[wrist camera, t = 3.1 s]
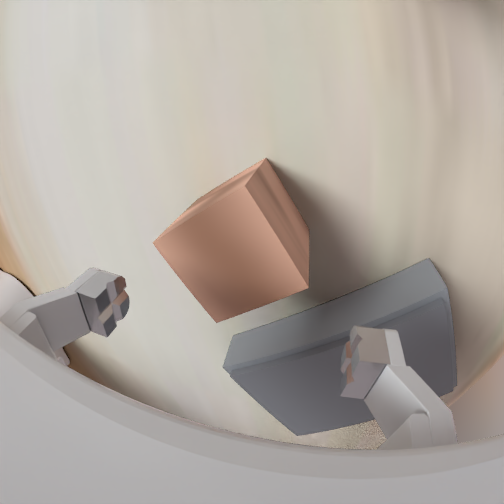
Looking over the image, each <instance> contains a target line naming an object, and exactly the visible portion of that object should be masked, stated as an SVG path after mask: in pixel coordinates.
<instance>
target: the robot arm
mask: <svg viewBox="0 0 504 504" xmlns="http://www.w3.org/2000/svg"><path fill="white" fill-rule="evenodd" d="M125 288H126V282H125V278H123V277H122V276H120V275H116V274H113V273H110V272H107V271H103V270H100V269H96V268H89V269H88V270H87V271H85V272H84V273H83V274H82V275H81V276H79V277H78V278H77V279H76V280H75V281H74V282H72V283H71V284H70V285H69V286H68V287H67V288H64V287H63V288H60V289H57V290H53V291H50V292H47V293H44V294H41V295H38V296H35V297H34V296H33V295H32V294H31V293H30V292H29V291H28V290H27V289H26V288H25V287H24V285H22V284H21V283H20V282H19V281H18V280H17V279H16V278H14V277H13V276H11V275H10V274H7V273H5V272H3V271H1V270H0V504H504V434H501V435H498V436H493V437H489V438H485V439H480V440H475V441H470V442H464V443H458V440H457V435H456V430H455V424H454V420H453V415H452V411H451V410H450V409H449V408H448V407H447V406H446V405H445V403H444V402H443V401H442V400H441V399H440V398H439V397H438V396H437V395H436V394H435V393H434V391H433V390H432V389H431V388H430V387H429V386H428V385H427V384H426V383H425V382H424V381H423V380H422V379H421V377H420V376H419V375H418V374H417V373H416V372H415V371H414V370H413V369H412V368H411V367H410V366H406V363H405V358H404V354H403V350H402V346H401V342H400V338H399V334H398V331H397V330H392V329H380V328H372V327H364V326H357V325H354V326H353V328H352V330H351V332H350V341H349V342H347V343H346V344H345V347H344V349H343V352H342V356H341V364H340V370H341V371H342V373H343V376H342V378H341V380H340V396H342V397H350V398H358V399H364V401H365V403H366V405H367V406H368V408H369V410H370V411H371V413H372V415H373V416H374V418H375V420H376V421H377V423H378V425H379V426H380V428H381V430H382V431H383V433H384V435H385V437H386V438H387V440H386V441H385V442H384V443H383V444H382V445H381V446H379V447H378V448H377V449H376V450H365V449H341V448H328V447H317V446H308V445H300V444H293V443H286V442H280V441H274V440H268V439H263V438H258V437H253V436H248V435H244V434H239V433H235V432H231V431H227V430H223V429H219V428H216V427H212V426H208V425H205V424H201V423H198V422H195V421H192V420H188V419H185V418H182V417H179V416H176V415H173V414H171V413H168V412H165V411H162V410H159V409H157V408H154V407H152V406H149V405H146V404H144V403H141V402H139V401H137V400H134V399H132V398H129V397H127V396H125V395H123V394H120V393H118V392H116V391H114V390H112V389H109V388H107V387H105V386H103V385H101V384H99V383H97V382H95V381H93V380H91V379H89V378H87V377H85V376H84V375H82V374H80V373H78V372H76V371H74V370H73V369H71V368H69V367H67V365H68V364H69V363H70V361H69V359H68V357H67V355H66V354H65V352H64V350H63V346H65V345H67V344H69V343H71V342H73V341H75V340H76V339H78V338H80V337H82V336H84V335H86V334H88V333H90V331H92V332H95V333H97V334H100V335H102V336H105V337H108V336H109V335H110V334H111V332H112V331H113V330H114V329H115V328H116V326H117V324H116V321H119V320H121V319H123V318H124V317H125V315H126V314H127V312H128V309H129V296H128V294H127V293H126V292H125V290H124V289H125Z"/></svg>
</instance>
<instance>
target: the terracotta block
mask: <svg viewBox="0 0 504 504" xmlns="http://www.w3.org/2000/svg"><path fill="white" fill-rule="evenodd" d="M153 244H154V246H155V247H156V248H157V250H158V251H159V252H160V254H161V255H162V256H163V257H164V259H165V260H166V261H167V263H168V264H169V265H170V267H171V268H172V269H173V270H174V272H175V273H176V274H177V276H178V277H179V278H180V279H181V281H182V282H183V283H184V284H185V286H186V287H187V288H188V289H189V291H190V292H191V293H192V294H193V295H194V297H195V298H196V299H197V300H198V302H199V303H200V304H201V305H202V306H203V308H204V309H205V310H206V311H207V312H208V314H209V315H210V316H211V317H212V318H213V319H214V321H215V322H216V323H218V322H220V321H223V320H226V319H229V318H232V317H234V316H237V315H240V314H243V313H245V312H248V311H251V310H253V309H256V308H259V307H261V306H264V305H267V304H269V303H272V302H275V301H277V300H280V299H282V298H285V297H287V296H290V295H292V294H295V293H297V292H300V291H302V290H305V289H307V288H309V229H308V227H307V225H306V223H305V222H304V220H303V218H302V217H301V215H300V213H299V211H298V210H297V208H296V206H295V205H294V203H293V201H292V199H291V198H290V196H289V194H288V193H287V191H286V189H285V188H284V186H283V184H282V183H281V181H280V180H279V178H278V176H277V175H276V173H275V171H274V170H273V168H272V167H271V165H270V163H269V162H268V160H267V159H266V158H265V159H263V160H261V161H259V162H258V163H256V164H254V165H253V166H251V167H249V168H247V169H246V170H244V171H242V172H241V173H239V174H237V175H236V176H234V177H232V178H231V179H229V180H228V181H226V182H224V183H223V184H221V185H219V186H218V187H216V188H215V189H213V190H211V191H210V192H208V193H207V194H205V195H204V196H202V197H200V198H199V199H197V200H196V201H195V202H194V203H193V204H192V205H191V206H190V207H189V208H188V209H187V210H186V211H185V212H184V213H182V214H181V215H180V216H179V217H178V218H177V219H176V220H175V221H174V222H173V223H172V224H171V225H170V226H169V227H168V228H167V229H166V230H165V231H164V232H163V233H162V234H161V235H160V236H159V237H158V238H157V239H156V240H155V241H154V242H153Z"/></svg>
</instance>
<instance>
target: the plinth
mask: <svg viewBox="0 0 504 504" xmlns="http://www.w3.org/2000/svg"><path fill="white" fill-rule="evenodd" d="M354 325H357V326H364V327H372V328H380V329H392V330H397V331H398V334H399V338H400V342H401V346H402V350H403V354H404V358H405V363H406V366H410V367H411V368H412V369H413V370H414V371H415V372H416V373H417V374H418V375H419V376H420V377H421V379H422V380H423V381H424V382H425V383H426V384H427V385H428V386H429V387H430V388H431V389H432V390H433V391H434V393H435V394H436V395H437V396H438V397H440V396H443V395H445V394H447V393H449V392H452V391H453V387H455V386H457V369H456V351H455V339H454V329H453V321H452V313H451V306H450V300H449V294H448V288H447V286H446V284H445V283H444V281H443V279H442V278H441V276H440V275H439V273H438V271H437V270H436V268H435V267H434V265H433V263H432V262H431V260H430V259H429V258H428V259H426V260H424V261H422V262H420V263H417V264H415V265H413V266H411V267H409V268H407V269H405V270H403V271H400V272H398V273H396V274H394V275H392V276H389V277H387V278H385V279H383V280H380V281H378V282H376V283H373V284H371V285H369V286H366V287H364V288H362V289H359V290H357V291H354V292H352V293H350V294H347V295H345V296H342V297H340V298H337V299H335V300H332V301H330V302H327V303H324V304H322V305H319V306H317V307H314V308H311V309H309V310H306V311H303V312H301V313H298V314H295V315H292V316H290V317H287V318H284V319H281V320H278V321H276V322H273V323H270V324H267V325H264V326H261V327H258V328H255V329H252V330H249V331H246V332H243V333H240V334H237V335H233V337H232V340H231V343H230V346H229V349H228V352H227V356H226V359H225V362H224V365H223V368H224V369H225V370H226V371H227V372H228V373H229V374H230V377H231V378H232V379H233V380H234V381H235V382H236V383H238V384H239V385H240V386H241V387H242V388H243V389H244V390H245V391H246V392H247V393H248V394H249V395H250V396H251V397H252V398H254V399H255V400H256V401H257V402H258V403H259V404H260V405H261V406H262V407H264V408H265V409H266V410H267V411H268V412H269V413H270V414H271V415H273V416H274V417H275V418H276V419H277V420H278V421H280V422H281V423H282V424H283V425H284V426H286V427H287V428H288V429H289V430H290V431H292V432H293V433H294V434H295V435H296V436H299V435H306V434H312V433H317V432H323V431H328V430H333V429H338V428H342V427H347V426H351V425H355V424H359V423H363V422H367V421H370V420H374V419H375V418H374V416H373V415H372V413H371V411H370V410H369V408H368V406H367V405H366V403H365V401H364V399H358V398H350V397H342V396H340V380H341V378H342V376H343V373H342V371H341V370H340V364H341V356H342V352H343V349H344V347H345V344H346V343H347V342H349V341H350V332H351V330H352V328H353V326H354Z"/></svg>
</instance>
